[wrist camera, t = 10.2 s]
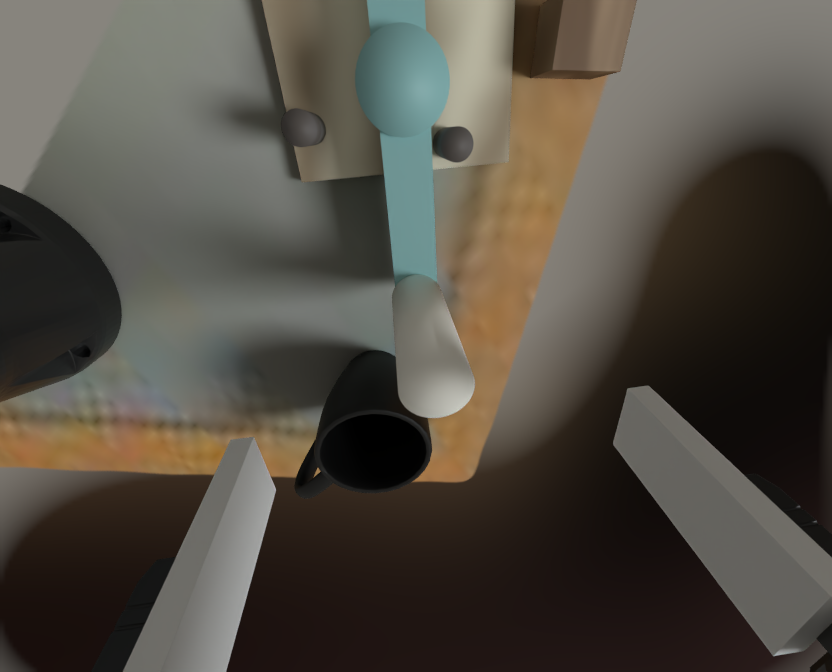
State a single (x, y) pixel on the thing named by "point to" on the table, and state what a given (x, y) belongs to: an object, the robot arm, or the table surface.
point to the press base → (336, 93)
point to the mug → (366, 433)
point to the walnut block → (581, 38)
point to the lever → (413, 201)
